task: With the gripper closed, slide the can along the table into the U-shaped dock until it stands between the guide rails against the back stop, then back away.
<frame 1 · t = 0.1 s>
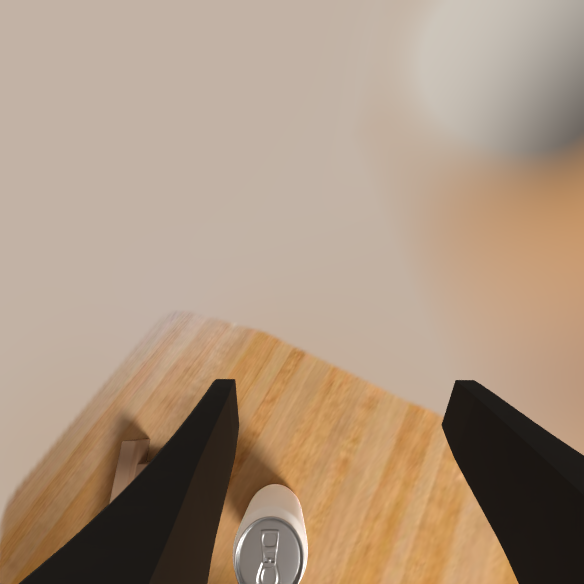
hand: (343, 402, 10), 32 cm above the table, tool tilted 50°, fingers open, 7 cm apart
dock: (171, 515, 35), on the table
can: (274, 514, 35), on the table
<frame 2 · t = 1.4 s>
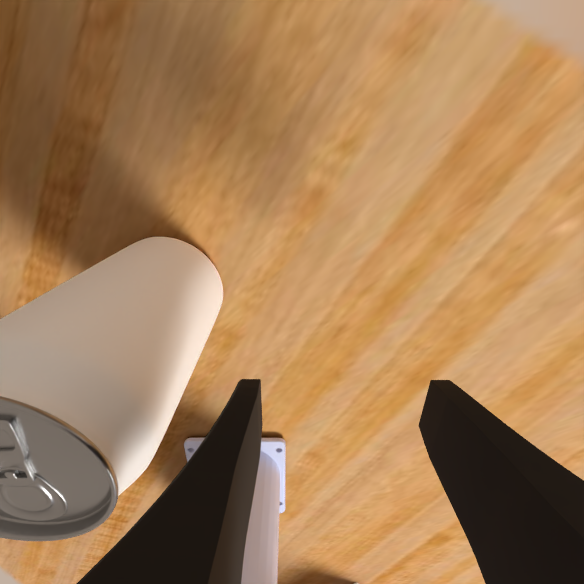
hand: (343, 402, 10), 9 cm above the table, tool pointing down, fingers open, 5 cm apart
can: (173, 284, 18), on the table
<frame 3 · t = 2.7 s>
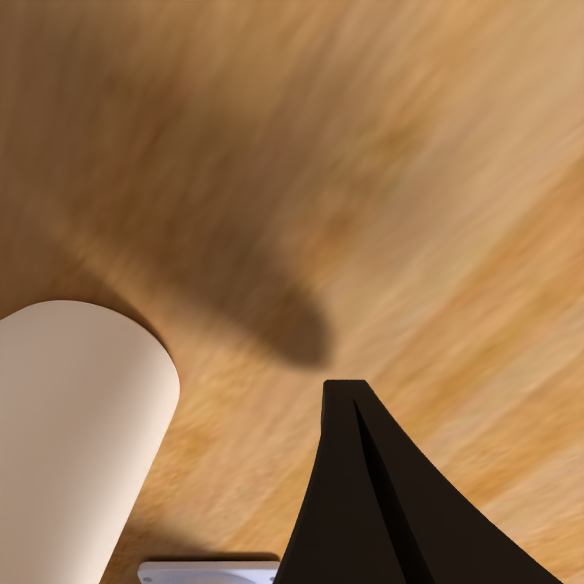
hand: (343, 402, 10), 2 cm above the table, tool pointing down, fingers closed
can: (100, 367, 11), on the table
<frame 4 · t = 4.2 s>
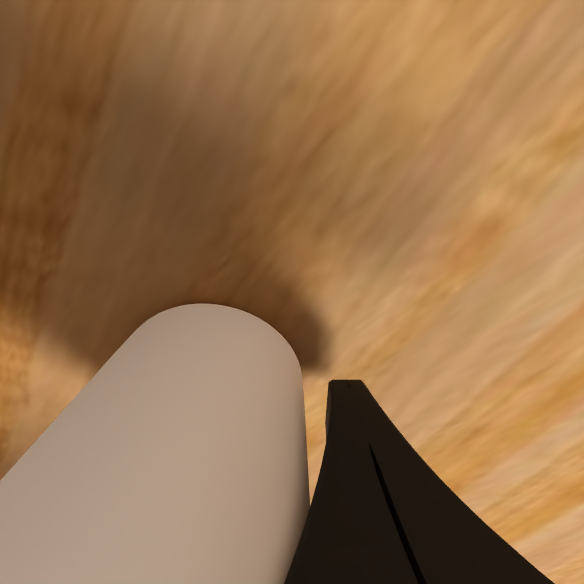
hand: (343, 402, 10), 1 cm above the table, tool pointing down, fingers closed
can: (217, 371, 11), on the table, touching gripper
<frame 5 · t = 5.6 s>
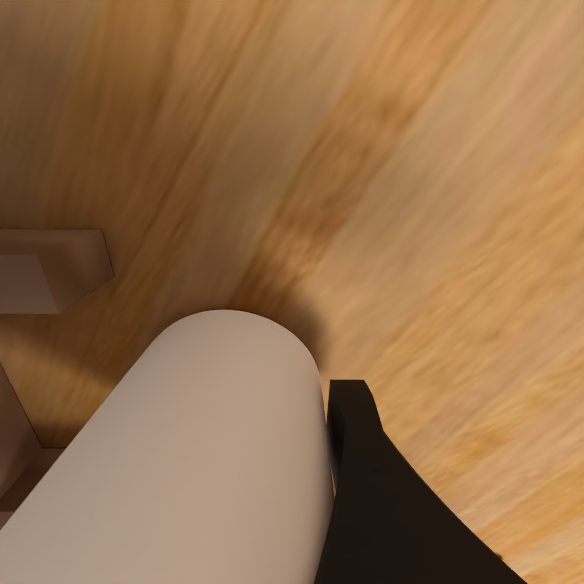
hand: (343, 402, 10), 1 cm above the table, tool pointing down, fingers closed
dock: (113, 375, 11), on the table
can: (235, 376, 11), on the table, touching gripper
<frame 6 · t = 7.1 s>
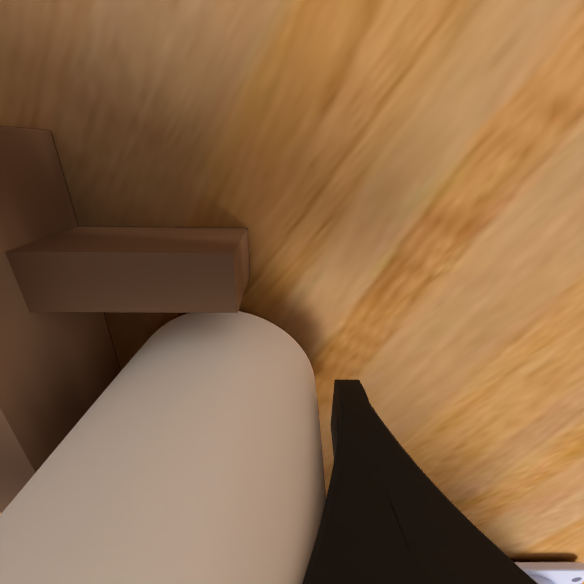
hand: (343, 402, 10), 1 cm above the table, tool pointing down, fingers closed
dock: (228, 374, 11), on the table
can: (230, 375, 11), on the table, touching gripper
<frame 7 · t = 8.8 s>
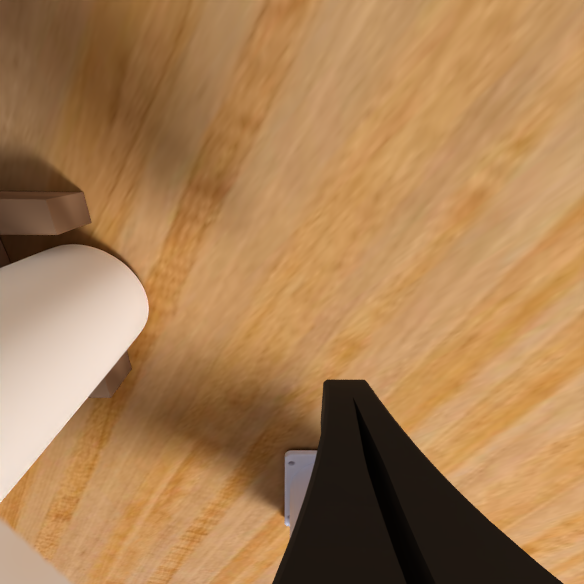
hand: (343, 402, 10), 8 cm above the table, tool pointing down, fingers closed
dock: (93, 292, 17), on the table
can: (97, 294, 17), on the table
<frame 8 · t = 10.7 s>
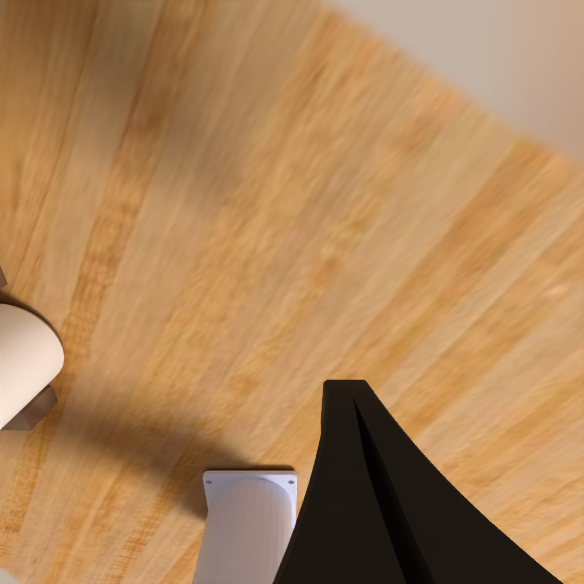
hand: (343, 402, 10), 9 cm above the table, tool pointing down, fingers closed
dock: (15, 339, 20), on the table
can: (20, 340, 20), on the table
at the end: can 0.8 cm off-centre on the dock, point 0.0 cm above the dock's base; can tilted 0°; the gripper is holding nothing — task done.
